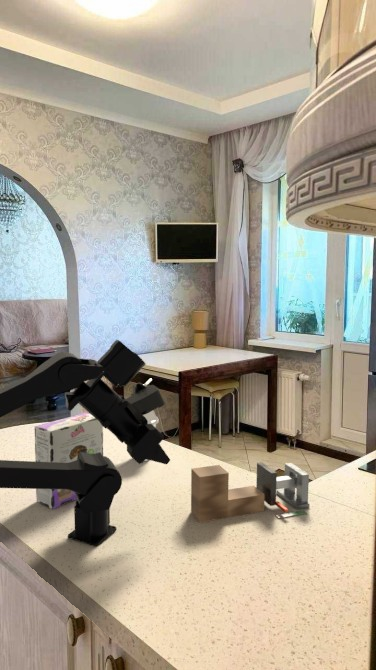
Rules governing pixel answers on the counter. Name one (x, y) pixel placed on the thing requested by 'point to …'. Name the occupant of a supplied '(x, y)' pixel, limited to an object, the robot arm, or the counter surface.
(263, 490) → the grey bracket
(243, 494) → the walnut block
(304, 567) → the counter surface
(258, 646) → the counter surface
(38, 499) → the candy box
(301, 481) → the gauge housing
